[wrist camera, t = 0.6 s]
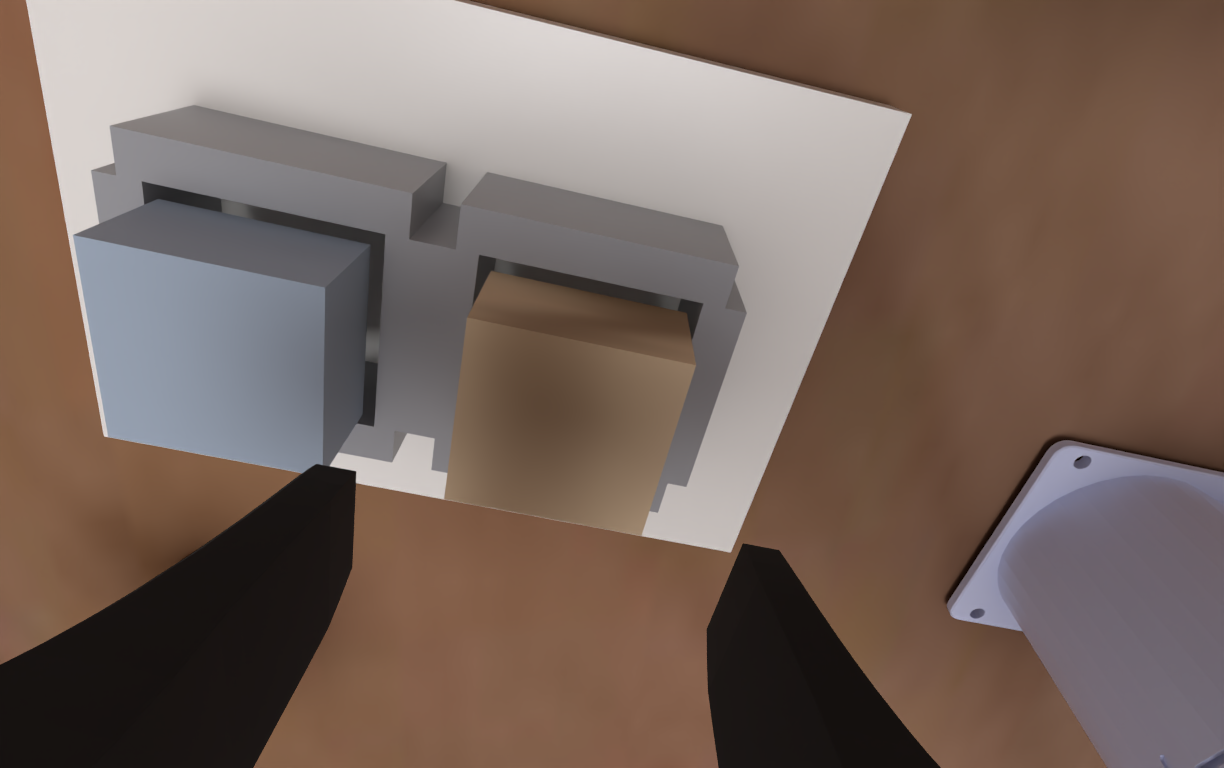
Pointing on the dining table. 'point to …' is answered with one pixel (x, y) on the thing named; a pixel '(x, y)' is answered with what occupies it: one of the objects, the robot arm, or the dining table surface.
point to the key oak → (567, 403)
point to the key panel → (488, 194)
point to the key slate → (226, 333)
